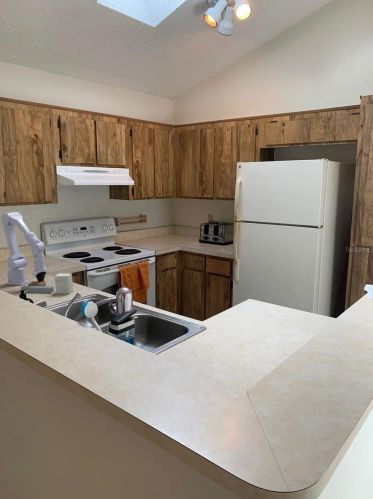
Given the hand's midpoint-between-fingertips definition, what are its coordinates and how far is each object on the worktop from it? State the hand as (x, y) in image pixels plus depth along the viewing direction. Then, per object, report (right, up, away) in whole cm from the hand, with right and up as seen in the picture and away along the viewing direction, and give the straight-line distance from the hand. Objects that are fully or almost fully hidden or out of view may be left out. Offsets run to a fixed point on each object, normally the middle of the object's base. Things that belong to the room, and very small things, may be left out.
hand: (41, 284), depth 227 cm
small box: (+18, -4, -11) cm, 21 cm away
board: (+2, -3, -10) cm, 11 cm away
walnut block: (-1, -3, -5) cm, 5 cm away
